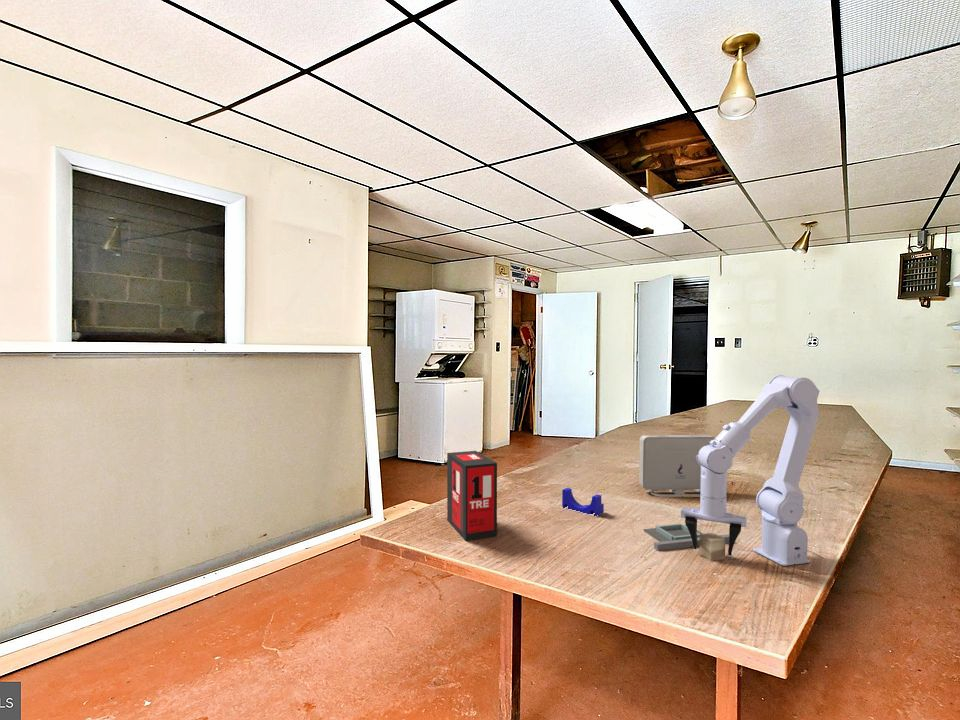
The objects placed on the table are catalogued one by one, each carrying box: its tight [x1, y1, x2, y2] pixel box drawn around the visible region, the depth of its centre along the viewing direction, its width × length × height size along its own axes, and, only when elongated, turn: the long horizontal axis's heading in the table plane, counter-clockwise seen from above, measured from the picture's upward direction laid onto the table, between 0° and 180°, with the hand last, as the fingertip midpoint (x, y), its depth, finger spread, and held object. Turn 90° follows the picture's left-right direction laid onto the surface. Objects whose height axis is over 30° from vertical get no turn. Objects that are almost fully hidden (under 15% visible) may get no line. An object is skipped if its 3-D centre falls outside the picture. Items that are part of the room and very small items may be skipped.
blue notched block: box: [561, 487, 605, 517], centre depth 156 cm, size 12×4×6 cm, turn 48°
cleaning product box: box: [446, 450, 498, 542], centre depth 141 cm, size 16×9×20 cm, turn 21°
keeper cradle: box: [642, 523, 704, 542], centre depth 136 cm, size 11×14×2 cm
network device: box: [638, 434, 716, 498], centre depth 174 cm, size 26×9×20 cm, turn 92°
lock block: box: [699, 532, 726, 562], centre depth 123 cm, size 4×4×5 cm
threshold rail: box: [653, 533, 729, 552], centre depth 130 cm, size 2×22×2 cm, turn 104°
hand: (712, 550), depth 123 cm, fingers open, 7 cm apart
